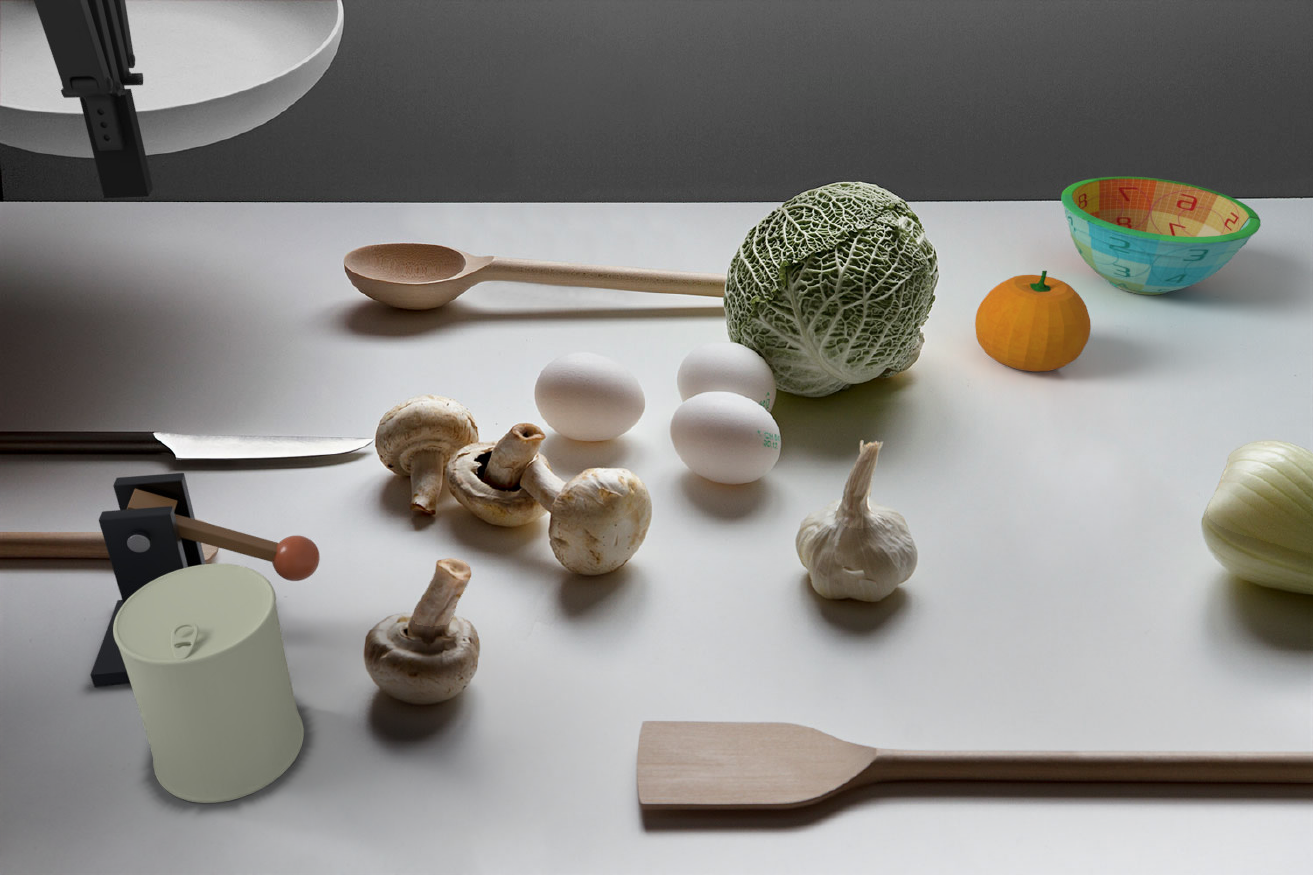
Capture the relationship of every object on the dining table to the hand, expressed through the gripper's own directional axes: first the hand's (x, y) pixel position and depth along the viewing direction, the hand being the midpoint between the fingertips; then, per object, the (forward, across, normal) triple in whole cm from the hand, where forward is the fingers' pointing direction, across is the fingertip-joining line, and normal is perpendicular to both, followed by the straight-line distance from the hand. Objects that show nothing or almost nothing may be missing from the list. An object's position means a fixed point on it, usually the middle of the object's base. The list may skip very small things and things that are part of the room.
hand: (128, 193), depth 74 cm
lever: (+23, -9, -3) cm, 25 cm away
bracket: (+30, -9, +1) cm, 32 cm away
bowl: (+31, +42, -103) cm, 115 cm away
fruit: (+31, +25, -80) cm, 89 cm away
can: (+31, -20, -4) cm, 37 cm away
